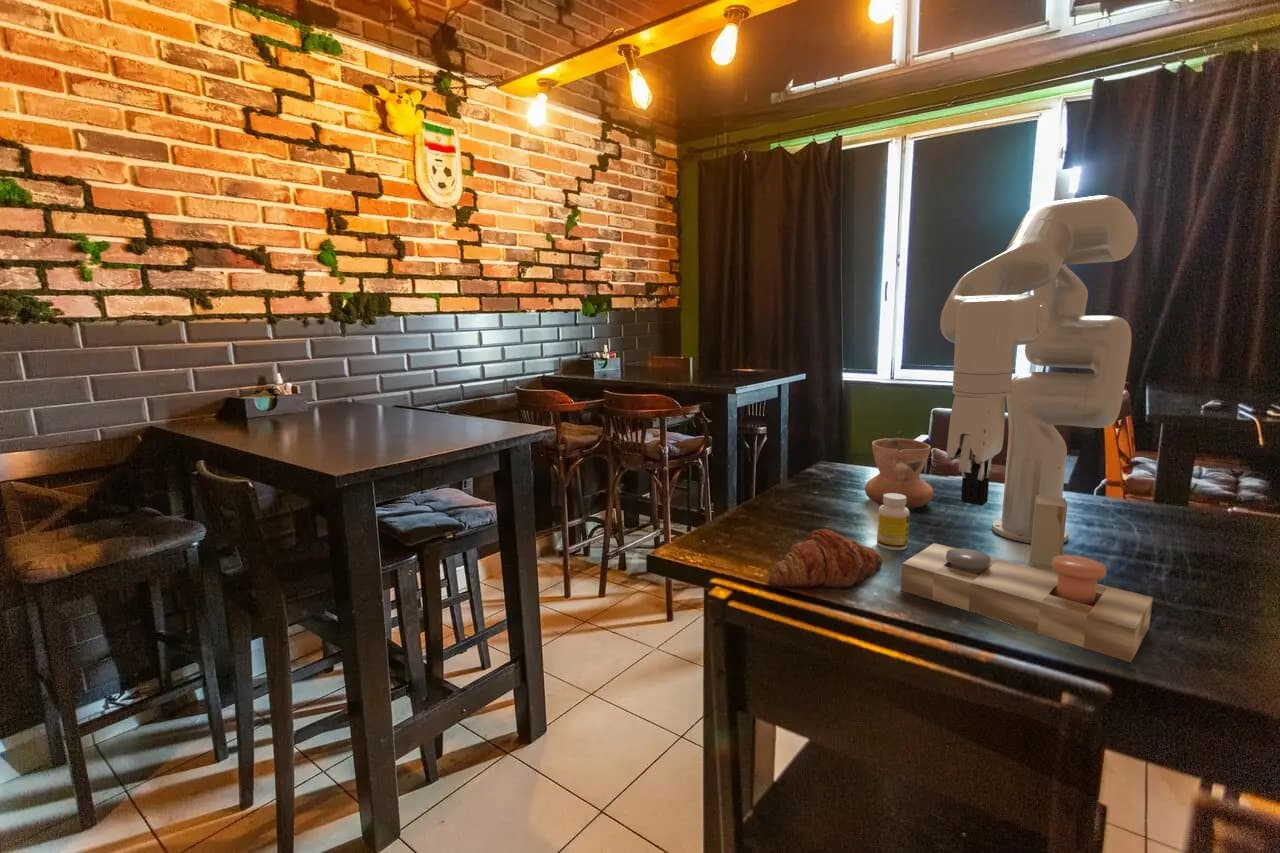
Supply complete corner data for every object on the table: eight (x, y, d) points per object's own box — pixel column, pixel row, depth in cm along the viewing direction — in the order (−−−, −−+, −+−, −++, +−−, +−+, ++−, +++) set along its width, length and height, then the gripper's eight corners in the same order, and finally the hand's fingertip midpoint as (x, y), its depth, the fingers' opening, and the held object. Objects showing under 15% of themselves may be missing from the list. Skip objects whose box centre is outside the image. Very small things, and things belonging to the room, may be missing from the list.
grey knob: (953, 577, 99) (955, 545, 98) (993, 588, 95) (996, 555, 94) (937, 589, 95) (940, 555, 94) (979, 601, 91) (982, 566, 90)
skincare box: (1060, 579, 99) (1068, 507, 97) (1029, 574, 101) (1035, 503, 99) (1058, 565, 104) (1066, 497, 102) (1029, 560, 107) (1035, 493, 105)
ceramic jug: (936, 518, 129) (940, 453, 127) (863, 512, 135) (866, 449, 132) (929, 494, 146) (933, 436, 143) (865, 490, 151) (867, 433, 149)
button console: (932, 567, 105) (934, 543, 104) (1148, 628, 84) (1152, 597, 83) (900, 589, 97) (902, 563, 96) (1130, 662, 76) (1135, 629, 75)
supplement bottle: (910, 552, 112) (913, 500, 110) (879, 550, 113) (881, 499, 111) (904, 541, 117) (906, 492, 115) (874, 540, 118) (876, 491, 116)
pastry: (863, 607, 92) (866, 557, 91) (765, 587, 100) (766, 540, 98) (883, 567, 106) (885, 523, 105) (796, 551, 114) (797, 510, 113)
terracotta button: (1055, 587, 89) (1059, 551, 88) (1106, 600, 84) (1110, 563, 83) (1043, 601, 85) (1046, 563, 84) (1095, 615, 80) (1100, 576, 79)
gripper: (973, 376, 97) (966, 486, 101) (934, 389, 87) (928, 510, 91) (1026, 378, 92) (1017, 495, 96) (991, 393, 82) (982, 522, 86)
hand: (974, 502), depth 93 cm, fingers closed
